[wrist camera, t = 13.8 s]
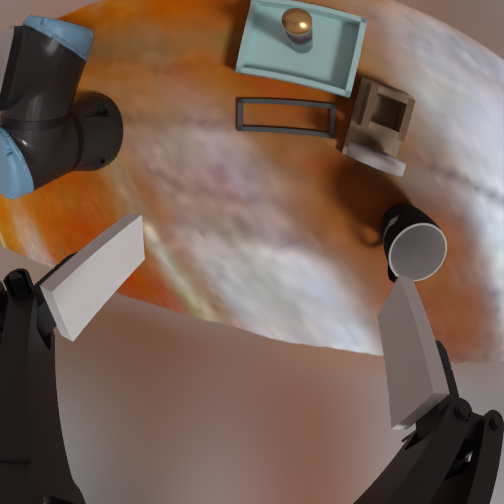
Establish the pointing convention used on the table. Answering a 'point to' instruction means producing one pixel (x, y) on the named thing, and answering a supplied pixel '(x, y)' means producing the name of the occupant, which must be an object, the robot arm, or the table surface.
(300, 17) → the pin
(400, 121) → the tensioner block
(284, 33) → the tray
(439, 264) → the mug
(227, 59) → the table surface
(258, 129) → the dark gray rectangular frame
